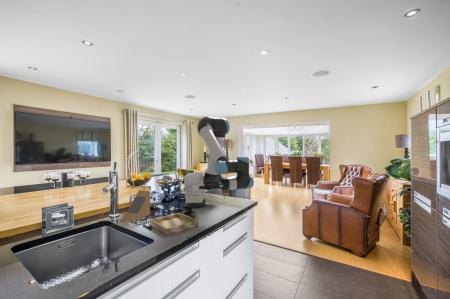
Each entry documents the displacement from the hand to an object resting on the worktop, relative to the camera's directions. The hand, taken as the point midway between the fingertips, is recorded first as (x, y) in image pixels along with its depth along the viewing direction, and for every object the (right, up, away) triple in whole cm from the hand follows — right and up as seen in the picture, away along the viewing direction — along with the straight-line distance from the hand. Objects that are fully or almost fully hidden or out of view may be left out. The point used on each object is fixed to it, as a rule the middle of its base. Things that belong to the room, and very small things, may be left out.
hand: (191, 186), depth 117 cm
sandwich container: (-35, -21, +10) cm, 42 cm away
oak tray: (-8, -20, -6) cm, 22 cm away
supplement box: (+2, -9, +2) cm, 9 cm away
